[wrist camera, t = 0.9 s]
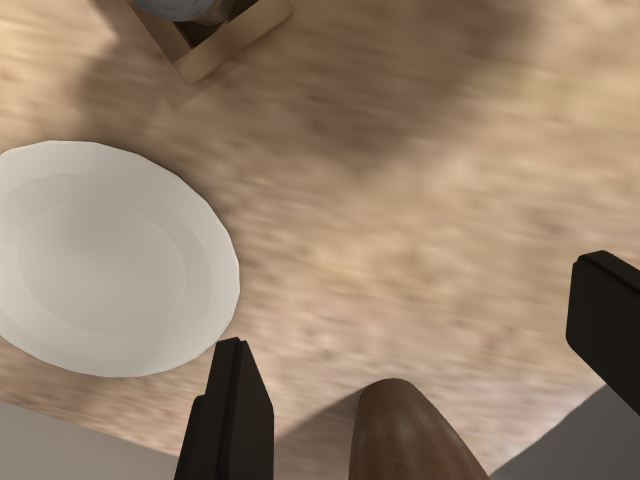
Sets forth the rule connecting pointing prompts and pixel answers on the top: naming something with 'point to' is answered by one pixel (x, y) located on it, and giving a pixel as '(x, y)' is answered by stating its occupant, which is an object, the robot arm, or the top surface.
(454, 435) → the plant pot
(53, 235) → the plate
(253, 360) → the robot arm
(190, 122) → the top surface
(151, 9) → the peg
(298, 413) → the top surface
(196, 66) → the socket block
